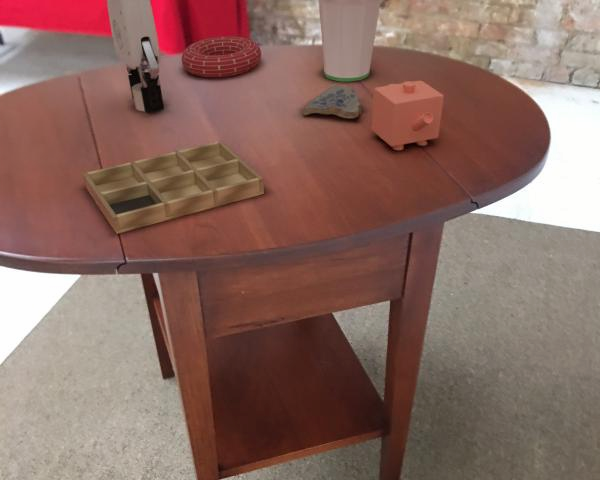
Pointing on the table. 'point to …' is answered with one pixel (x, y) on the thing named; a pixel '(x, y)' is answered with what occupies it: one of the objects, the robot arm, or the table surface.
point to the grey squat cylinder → (138, 97)
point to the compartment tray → (171, 185)
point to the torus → (221, 56)
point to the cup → (348, 37)
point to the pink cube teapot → (406, 113)
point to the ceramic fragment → (336, 103)
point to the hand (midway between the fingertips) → (148, 103)
